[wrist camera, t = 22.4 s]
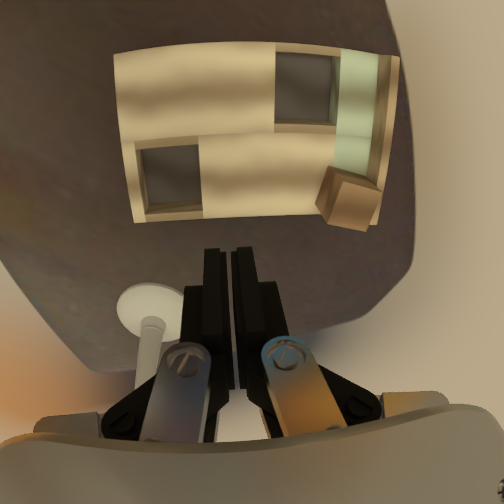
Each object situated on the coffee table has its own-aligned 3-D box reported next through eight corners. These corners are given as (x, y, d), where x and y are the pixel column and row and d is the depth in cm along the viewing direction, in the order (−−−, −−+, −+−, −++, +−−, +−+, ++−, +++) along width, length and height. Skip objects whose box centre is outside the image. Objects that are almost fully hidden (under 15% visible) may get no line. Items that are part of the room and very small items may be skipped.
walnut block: (328, 165, 34) (343, 181, 30) (364, 175, 36) (382, 192, 31) (314, 203, 37) (327, 223, 33) (350, 211, 38) (365, 231, 34)
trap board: (121, 54, 27) (103, 54, 22) (374, 55, 30) (399, 57, 25) (139, 211, 39) (128, 235, 34) (358, 203, 41) (376, 224, 36)
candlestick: (206, 329, 52) (211, 508, 27) (142, 344, 53) (123, 506, 28) (173, 272, 44) (152, 487, 20) (103, 294, 46) (54, 477, 21)
